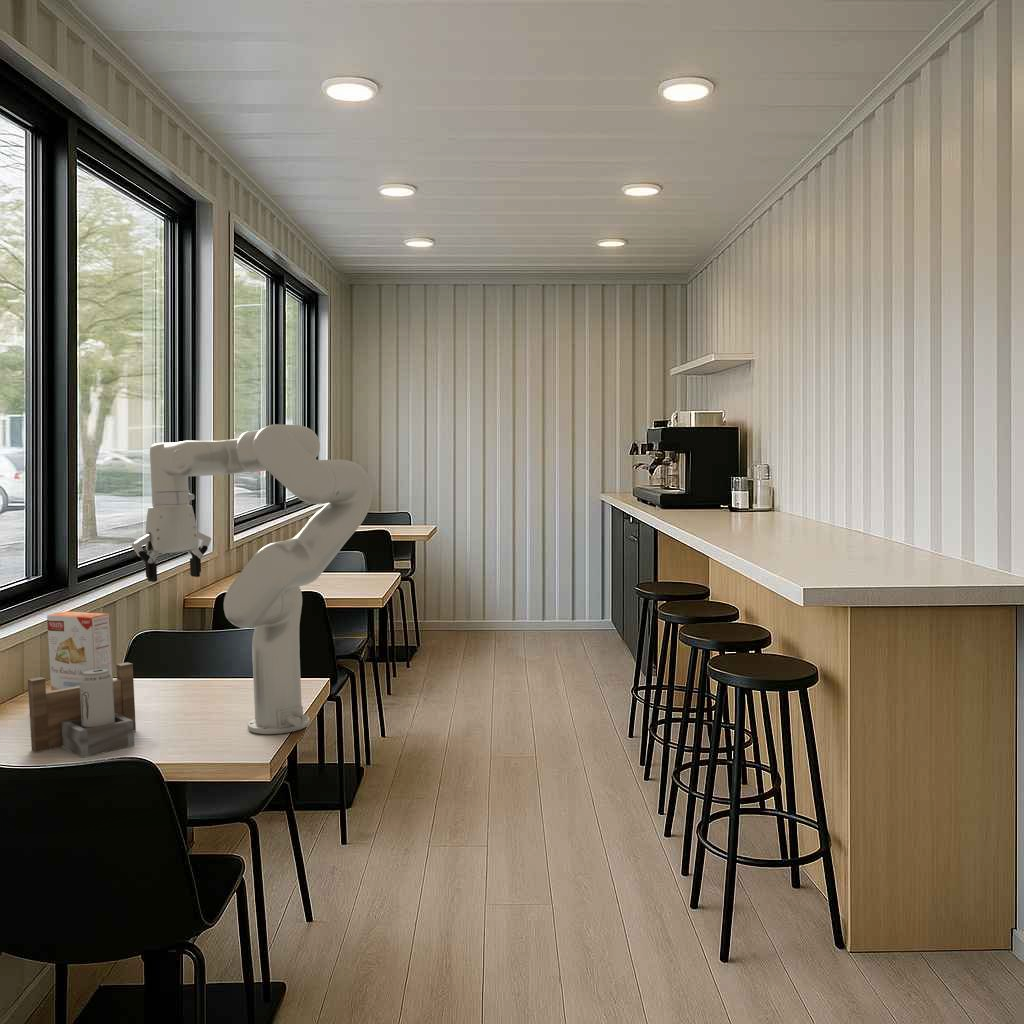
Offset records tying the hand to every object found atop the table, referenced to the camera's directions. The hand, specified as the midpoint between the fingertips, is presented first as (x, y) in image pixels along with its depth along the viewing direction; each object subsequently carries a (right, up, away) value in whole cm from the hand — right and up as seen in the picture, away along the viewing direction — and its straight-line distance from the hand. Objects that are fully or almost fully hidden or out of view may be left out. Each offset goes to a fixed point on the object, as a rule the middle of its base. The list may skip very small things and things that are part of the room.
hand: (174, 578), depth 206 cm
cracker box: (-28, -30, +18) cm, 45 cm away
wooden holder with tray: (-9, -32, -18) cm, 38 cm away
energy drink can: (-8, -32, -19) cm, 38 cm away
